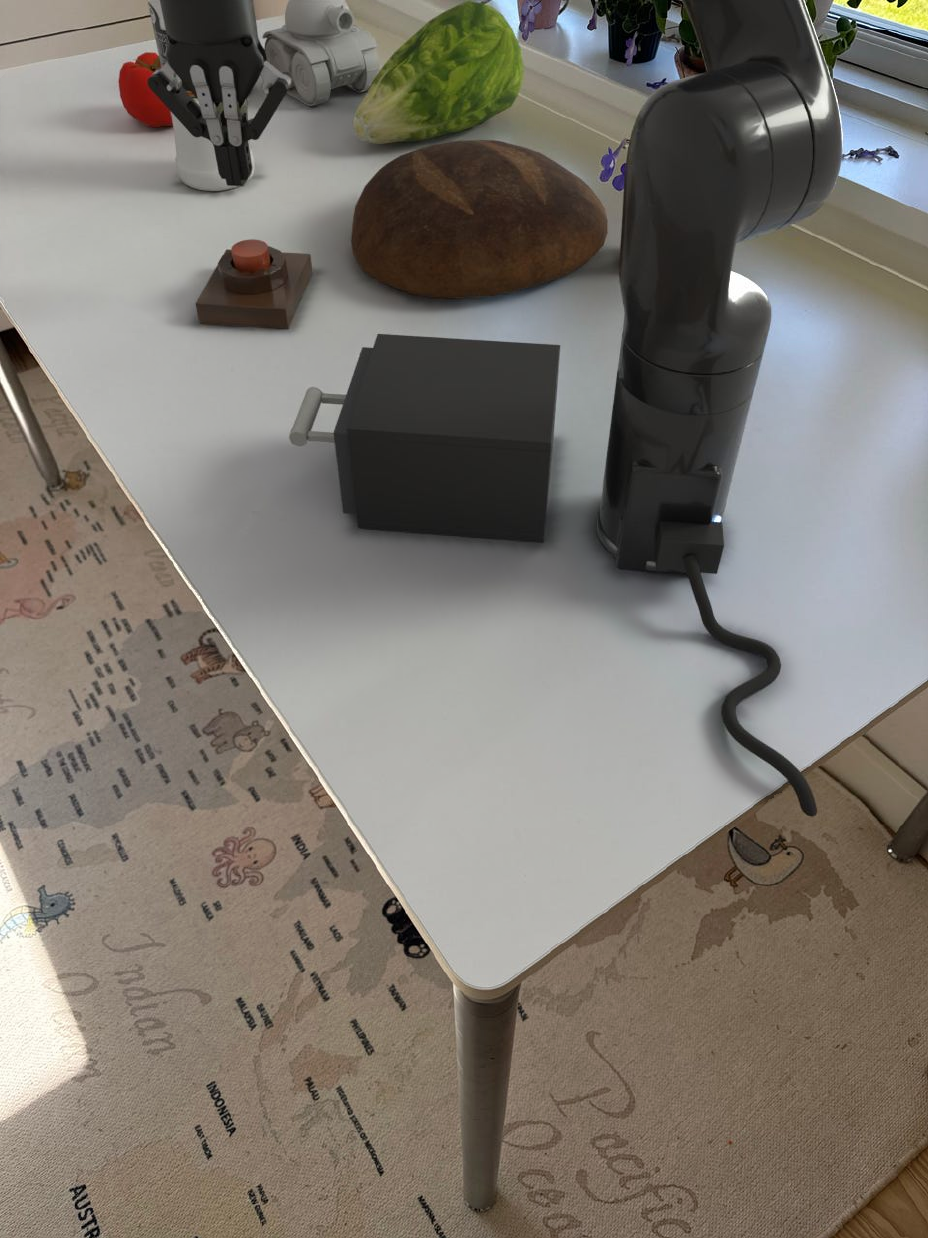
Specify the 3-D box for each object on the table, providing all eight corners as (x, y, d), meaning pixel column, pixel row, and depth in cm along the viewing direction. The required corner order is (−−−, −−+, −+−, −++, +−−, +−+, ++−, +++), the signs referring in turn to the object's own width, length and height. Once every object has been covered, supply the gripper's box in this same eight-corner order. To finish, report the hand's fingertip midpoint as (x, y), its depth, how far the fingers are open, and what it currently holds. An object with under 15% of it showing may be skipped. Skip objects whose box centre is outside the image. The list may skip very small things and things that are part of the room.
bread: (534, 169, 123) (537, 93, 116) (655, 270, 106) (667, 188, 99) (312, 216, 114) (303, 137, 108) (406, 334, 98) (402, 248, 91)
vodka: (264, 186, 120) (218, -120, 98) (186, 199, 118) (121, -112, 96) (248, 156, 126) (201, -140, 104) (173, 167, 124) (109, -133, 101)
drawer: (289, 509, 79) (275, 428, 73) (320, 422, 87) (309, 343, 81) (514, 527, 77) (518, 445, 72) (526, 437, 85) (530, 356, 79)
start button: (265, 274, 98) (262, 257, 97) (229, 272, 99) (226, 255, 97) (274, 256, 101) (272, 239, 100) (239, 254, 101) (236, 237, 100)
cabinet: (357, 528, 79) (346, 428, 72) (384, 431, 87) (377, 333, 80) (543, 543, 78) (551, 442, 70) (553, 443, 86) (560, 344, 79)
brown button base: (288, 329, 98) (282, 291, 95) (199, 323, 99) (191, 286, 96) (313, 273, 106) (308, 236, 103) (229, 268, 107) (223, 232, 104)
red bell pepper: (147, 140, 129) (133, 77, 124) (116, 119, 134) (101, 57, 128) (212, 121, 133) (201, 60, 128) (179, 101, 138) (167, 41, 132)
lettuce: (345, 170, 133) (308, 65, 123) (481, 90, 139) (456, -15, 129) (403, 194, 124) (369, 83, 114) (546, 107, 129) (525, -5, 120)
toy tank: (386, 96, 139) (380, -11, 129) (321, 115, 134) (310, 6, 125) (328, 65, 147) (318, -37, 137) (265, 82, 142) (250, -23, 133)
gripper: (105, -22, 79) (156, 197, 92) (269, -17, 78) (298, 203, 91) (137, -48, 84) (181, 162, 97) (292, -44, 83) (316, 168, 96)
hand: (238, 182), depth 94 cm, fingers closed
